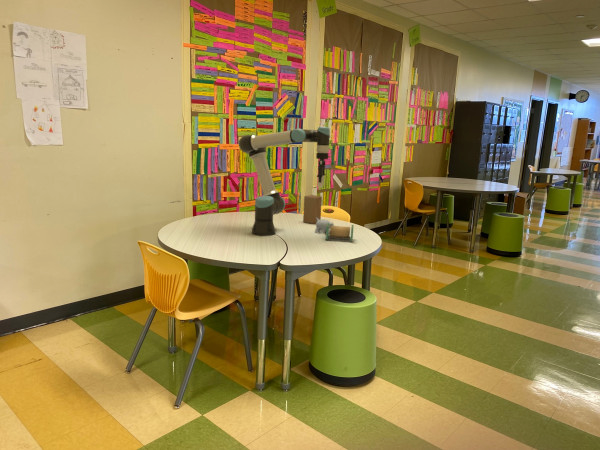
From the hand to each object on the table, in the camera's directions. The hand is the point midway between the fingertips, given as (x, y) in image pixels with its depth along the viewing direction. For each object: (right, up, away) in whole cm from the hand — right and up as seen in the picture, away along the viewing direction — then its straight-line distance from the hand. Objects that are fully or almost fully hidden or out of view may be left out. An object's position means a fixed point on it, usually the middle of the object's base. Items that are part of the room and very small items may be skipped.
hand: (320, 186), depth 270 cm
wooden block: (-4, -22, +50) cm, 55 cm away
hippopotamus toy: (+4, -30, +17) cm, 34 cm away
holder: (+12, -33, -2) cm, 35 cm away
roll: (+12, -32, -2) cm, 34 cm away
